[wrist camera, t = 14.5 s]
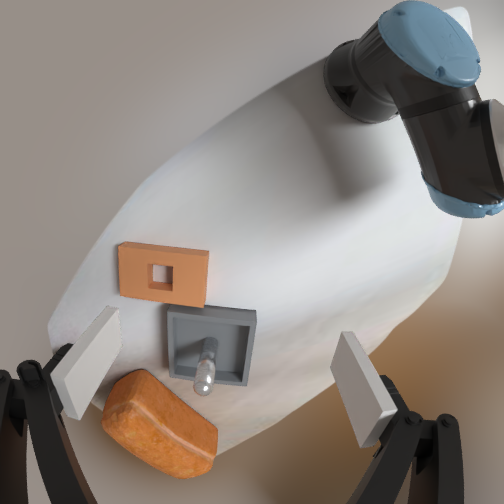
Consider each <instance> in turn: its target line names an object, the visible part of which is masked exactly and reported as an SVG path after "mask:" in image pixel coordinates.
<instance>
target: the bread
mask: <svg viewBox="0 0 504 504" xmlns="http://www.w3.org/2000/svg"><path fill="white" fill-rule="evenodd" d="M101 424H102V427H103V429H104V430H105V431H106V432H107V433H108V434H109V435H110V436H111V437H112V438H113V439H114V440H116V441H117V442H118V443H119V444H120V445H122V446H123V447H124V448H126V449H127V450H128V451H130V452H131V453H132V454H134V455H135V456H137V457H139V458H140V459H142V460H143V461H145V462H146V463H148V464H149V465H151V466H152V467H154V468H157V469H159V470H161V471H162V472H164V473H166V474H168V475H170V476H173V477H175V478H178V479H187V478H192V477H196V476H199V475H201V474H204V473H206V472H208V471H210V469H211V467H212V466H213V459H214V458H215V456H216V453H217V443H218V430H217V428H216V427H215V426H214V425H212V424H211V423H210V422H208V421H207V420H206V419H204V418H203V417H202V416H201V415H200V414H198V413H197V412H196V411H194V410H193V409H192V408H190V407H189V406H188V405H187V404H186V403H184V402H183V401H182V400H181V399H180V398H178V397H177V396H176V395H175V394H174V393H172V392H171V391H170V390H169V389H168V388H167V387H165V386H164V385H163V384H162V383H161V382H159V381H158V380H157V379H156V378H155V377H154V376H152V375H151V374H150V373H149V372H148V371H146V370H143V369H142V370H137V371H134V372H132V373H129V374H128V375H126V376H125V377H123V378H122V379H120V380H119V381H117V382H116V383H115V384H114V386H113V388H112V390H111V392H110V394H109V396H108V398H107V401H106V403H105V406H104V410H103V418H102V420H101Z"/></svg>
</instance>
